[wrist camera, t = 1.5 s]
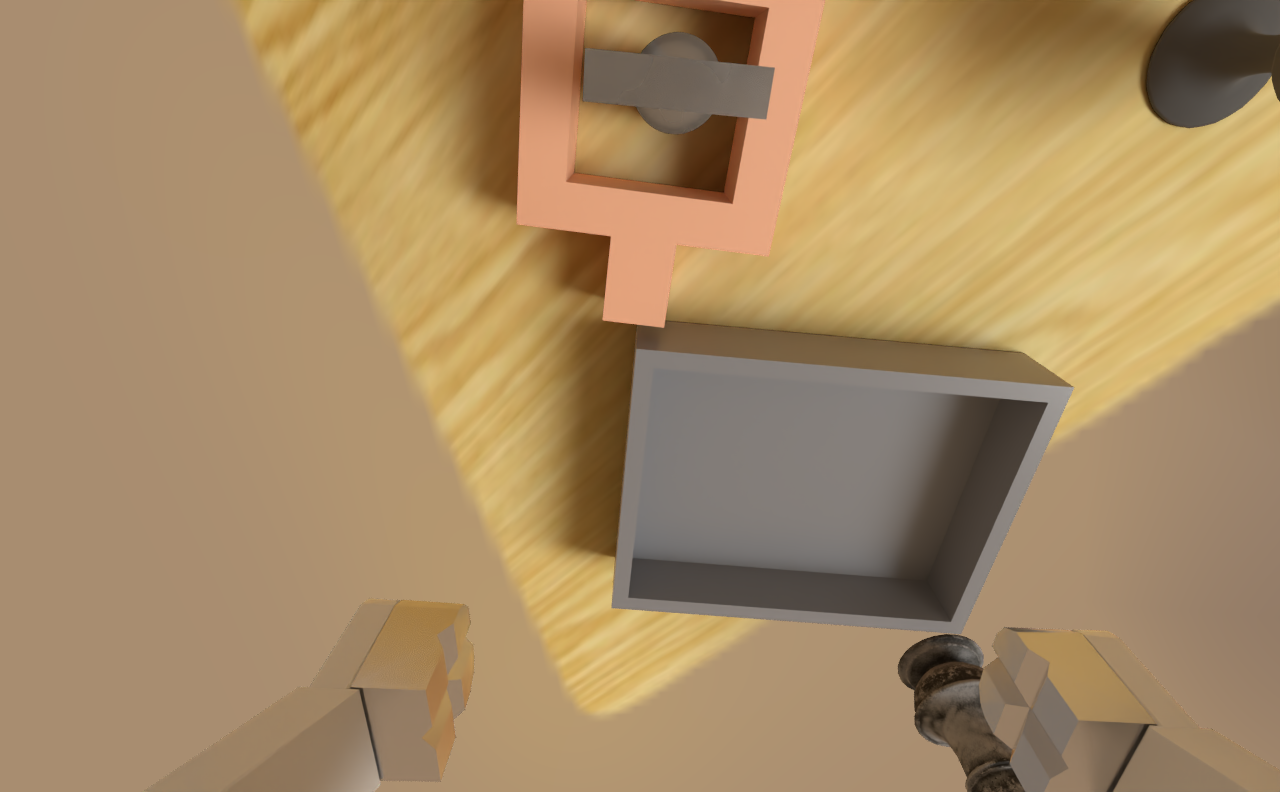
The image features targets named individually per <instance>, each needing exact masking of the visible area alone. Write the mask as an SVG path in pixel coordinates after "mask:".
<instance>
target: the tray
mask: <svg viewBox="0 0 1280 792" xmlns="http://www.w3.org/2000/svg"><path fill="white" fill-rule="evenodd" d="M1073 389H1074V387H1073V386H1071V385H1070V384H1068V383H1067V382H1065V381H1064V380H1062V379H1061V378H1060V377H1058V376H1057V375H1055V374H1054V373H1052V372H1051V371H1049V370H1048V369H1046V368H1045V367H1044V366H1042V365H1041V364H1039V363H1038V362H1036V361H1035V360H1033V359H1032V358H1030V357H1029V356H1028V355H1026V354H1025V353H1018V352H1007V351H995V350H984V349H973V348H962V347H951V346H940V345H929V344H918V343H906V342H895V341H884V340H873V339H862V338H851V337H840V336H829V335H817V334H806V333H795V332H784V331H773V330H762V329H751V328H740V327H728V326H717V325H706V324H695V323H684V322H673V321H665V325H664V328H662V327H653V326H645V325H637V329H636V340H635V350H634V361H633V372H632V382H631V393H630V404H629V414H628V425H627V436H626V446H625V457H624V468H623V478H622V489H621V500H620V510H619V521H618V532H617V542H616V553H615V566H614V581H613V595H612V608H619V609H632V610H645V611H659V612H672V613H686V614H699V615H713V616H726V617H739V618H753V619H766V620H780V621H793V622H808V623H820V624H834V625H848V626H861V627H874V628H887V629H901V630H914V631H928V632H941V633H954V634H961V633H962V630H963V628H964V626H965V624H966V622H967V620H968V617H969V615H970V613H971V611H972V609H973V607H974V604H975V602H976V600H977V598H978V595H979V594H980V591H981V589H982V587H983V585H984V583H985V580H986V578H987V576H988V574H989V572H990V570H991V567H992V565H993V563H994V561H995V559H996V557H997V554H998V552H999V550H1000V548H1001V546H1002V543H1003V541H1004V539H1005V537H1006V535H1007V533H1008V531H1009V528H1010V526H1011V524H1012V522H1013V520H1014V517H1015V515H1016V513H1017V511H1018V509H1019V506H1020V504H1021V502H1022V500H1023V498H1024V496H1025V494H1026V491H1027V489H1028V487H1029V485H1030V482H1031V480H1032V478H1033V476H1034V474H1035V472H1036V470H1037V467H1038V465H1039V463H1040V461H1041V459H1042V457H1043V454H1044V452H1045V450H1046V448H1047V446H1048V443H1049V441H1050V439H1051V437H1052V435H1053V433H1054V430H1055V428H1056V426H1057V424H1058V422H1059V420H1060V417H1061V415H1062V413H1063V411H1064V409H1065V406H1066V404H1067V402H1068V400H1069V398H1070V396H1071V393H1072V391H1073Z"/></svg>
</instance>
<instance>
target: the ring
mask: <svg viewBox="0 0 1280 792" xmlns="http://www.w3.org/2000/svg"><path fill="white" fill-rule="evenodd" d="M637 1H643V2H650V3H657V4H664V5H671V6H678V7H685V8H691V9H698V10H705V11H712V12H719V13H726V14H733V15H739V16H746V17H753V18H755V20H754V26H753V32H752V37H751V43H750V48H749V54H748V60H747V65H754V66H764V67H774V68H775V71H774V77H773V83H772V89H771V95H770V101H769V107H768V113H767V118H766V120H764V119H755V118H745V117H737V121H736V127H735V132H734V138H733V144H732V149H731V155H730V160H729V166H728V172H727V177H726V183H725V188H724V192H716V191H709V190H701V189H694V188H686V187H678V186H671V185H663V184H656V183H648V182H641V181H633V180H625V179H618V178H610V177H603V176H595V175H588V174H580V173H574V170H575V156H576V142H577V128H578V114H579V100H580V86H581V72H582V58H583V44H584V30H585V16H586V2H587V0H524V5H523V36H522V68H521V99H520V131H519V162H518V194H517V224H519V225H526V226H534V227H542V228H550V229H558V230H566V231H573V232H581V233H589V234H597V235H605V236H611V241H610V251H609V261H608V271H607V281H606V290H605V300H604V310H603V320H604V321H612V322H620V323H628V324H637V325H645V326H653V327H662V328H664V325H665V318H666V311H667V305H668V298H669V291H670V285H671V278H672V272H673V265H674V258H675V252H676V245H683V246H691V247H699V248H707V249H715V250H722V251H730V252H738V253H746V254H754V255H762V256H769V253H770V248H771V244H772V239H773V235H774V230H775V226H776V221H777V216H778V212H779V207H780V203H781V198H782V194H783V189H784V185H785V180H786V176H787V171H788V167H789V162H790V157H791V153H792V148H793V144H794V139H795V135H796V130H797V126H798V121H799V117H800V112H801V108H802V103H803V98H804V94H805V89H806V85H807V80H808V76H809V71H810V67H811V62H812V58H813V53H814V49H815V44H816V39H817V35H818V30H819V26H820V21H821V17H822V12H823V8H824V3H825V0H637Z"/></svg>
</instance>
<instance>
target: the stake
mask: <svg viewBox="0 0 1280 792" xmlns="http://www.w3.org/2000/svg"><path fill="white" fill-rule="evenodd" d="M774 71H775V68H774V67H764V66H754V65H745V64H735V63H725V62H718V60H717V57H716V55H715V54H714V52H713V51H712V49H711V48H710V47H709V46H708V45H707V44H706V43H705V42H704V41H703V40H701V39H700V38H698V37H696V36H694V35H691V34H688V33H683V32H673V33H668V34H664V35H662V36H660V37H658V38H656V39H654V40H653V41H652V42H650V43H649V44H648V45H647V46H646V47H645V48H644V49H643V51H642V52H641V54H639V53H629V52H620V51H610V50H600V49H591V48H585V63H584V86H583V101H586V102H596V103H606V104H616V105H626V106H636V108H637V110H638V112H639V113H640V115H641V116H642V118H643V119H644V120H645V121H646V122H647V123H648V124H649V125H650V126H652V127H653V128H655V129H657V130H659V131H661V132H664V133H668V134H683V133H687V132H690V131H693V130H695V129H696V128H698V127H700V126H701V125H702V124H704V123H705V122H706V121H707V120H708V119H709V118H710V116H711V115H712V114H715V115H725V116H735V117H745V118H755V119H764V120H766V118H767V113H768V107H769V101H770V95H771V89H772V83H773V77H774Z"/></svg>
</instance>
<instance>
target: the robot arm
mask: <svg viewBox="0 0 1280 792" xmlns="http://www.w3.org/2000/svg"><path fill="white" fill-rule="evenodd" d="M470 624H471V621H470V614H469V608H468V606H466V605H464V604H454V603H440V602H427V601H412V600H401V601H400V600H387V599H373V598H369V599H368V600H366V601H365V602H364V603H362V604H361V605H360V606H359V608H358V610H357V611H356V613H355V614H354V616H353V618H352V619H351V621H350V623H349V624H348V626H347V627H346V629H345V631H344V632H343V634H342V635H341V637H340V639H339V640H338V642H337V644H336V645H335V646H334V648H333V650H332V651H331V653H330V654H329V656H328V658H327V659H326V661H325V663H324V664H323V666H322V667H321V669H320V670H319V672H318V674H317V675H316V677H315V679H314V680H313V682H312V683H311V685H310V687H298V688H296V689H295V690H293V691H292V692H290V693H289V694H287V695H286V696H284V697H283V698H281V699H280V700H278V701H277V702H275V703H274V704H272V705H271V706H269V707H268V708H266V709H265V710H263V711H262V712H260V713H259V714H257V715H256V716H254V717H253V718H252V719H250V720H249V721H247V722H246V723H244V724H243V725H241V726H240V727H238V728H237V729H235V730H234V731H232V732H231V733H229V734H228V735H226V736H225V737H223V738H222V739H220V740H219V741H217V742H216V743H214V744H213V745H211V746H210V747H209V748H207V749H205V750H204V751H202V752H201V753H200V754H198V755H197V756H195V757H193V758H192V759H191V760H189V761H188V762H186V763H185V764H183V765H182V766H180V767H179V768H177V769H176V770H175V771H173V772H171V773H170V774H169V775H167V776H165V777H164V778H163V779H161V780H159V781H158V782H156V783H155V784H153V785H152V786H150V787H149V788H147V789H146V790H144V791H143V792H374V791H375V790H376V789H377V788H378V787H379V786H380V781H435V782H441V780H442V777H443V774H444V771H445V768H446V765H447V762H448V759H449V756H450V753H451V750H452V747H453V744H454V741H455V738H456V735H455V727H454V719H455V718H456V717H457V716H458V715H460V714H461V713H462V712H463V711H464V710H465V708H466V705H467V701H468V699H469V695H470V692H471V686H472V681H473V675H474V646H473V644H472V643H471V642H470V641H469V640H468V639H467V638H466V635H467V632H468V629H469V627H470ZM992 647H993V649H994V651H995V652H996V654H997V656H998V658H996V659H995V660H994V661H992V662H991V663H990V664H988V665H987V666H986V667H984V669H983V673H982V676H981V679H980V682H979V691H980V703H981V707H982V710H983V713H984V716H985V719H986V721H987V722H988V724H989V726H990V728H991V730H992V732H993V734H994V735H995V736H996V737H998V738H999V739H1000V740H1001V741H1003V742H1004V743H1005V744H1006V745H1008V746H1009V747H1010V748H1011V749H1012V753H1011V759H1010V765H1011V767H1012V769H1013V770H1014V772H1015V774H1016V776H1017V778H1018V780H1019V781H1020V783H1021V785H1022V787H1023V789H1024V790H1025V792H1280V770H1279V769H1277V768H1276V767H1274V766H1272V765H1271V764H1269V763H1268V762H1266V761H1264V760H1263V759H1261V758H1259V757H1258V756H1256V755H1254V754H1252V753H1251V752H1249V751H1248V750H1246V749H1244V748H1243V747H1241V746H1240V745H1238V744H1236V743H1234V742H1233V741H1231V740H1230V739H1228V738H1226V737H1225V736H1223V735H1221V734H1220V733H1218V732H1216V731H1215V730H1213V729H1208V728H1200V727H1199V726H1198V725H1197V724H1196V723H1195V721H1194V720H1193V719H1192V718H1191V717H1190V716H1189V715H1188V714H1187V713H1186V712H1185V710H1184V709H1183V708H1182V707H1181V706H1180V705H1179V704H1178V703H1177V702H1176V700H1175V699H1174V698H1173V697H1172V696H1171V695H1170V694H1169V693H1168V692H1167V690H1166V689H1165V688H1164V687H1163V686H1162V685H1161V684H1160V683H1159V681H1158V680H1157V679H1156V678H1155V677H1154V676H1153V675H1152V674H1151V672H1150V671H1149V670H1148V669H1147V668H1146V667H1145V666H1144V665H1143V664H1142V662H1141V661H1140V660H1139V659H1138V658H1137V657H1136V656H1135V655H1134V654H1133V653H1132V651H1131V650H1130V649H1129V648H1128V647H1127V646H1126V645H1125V644H1124V643H1123V641H1122V640H1121V639H1120V638H1118V637H1117V636H1115V635H1114V634H1112V633H1111V632H1109V631H1097V630H1065V629H1035V628H1007V627H1004V628H1003V629H1002V630H1001V631H999V632H998V633H997V635H996V637H995V640H994V642H993V645H992Z"/></svg>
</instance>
